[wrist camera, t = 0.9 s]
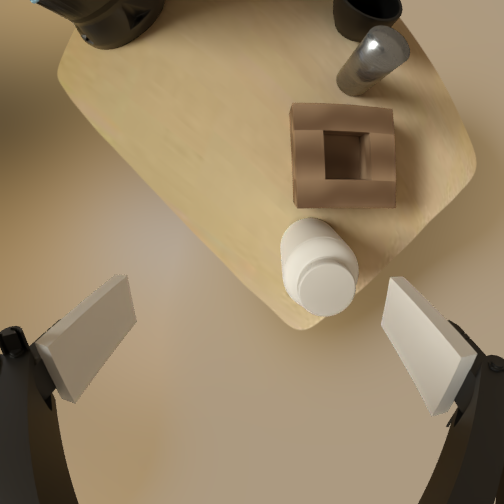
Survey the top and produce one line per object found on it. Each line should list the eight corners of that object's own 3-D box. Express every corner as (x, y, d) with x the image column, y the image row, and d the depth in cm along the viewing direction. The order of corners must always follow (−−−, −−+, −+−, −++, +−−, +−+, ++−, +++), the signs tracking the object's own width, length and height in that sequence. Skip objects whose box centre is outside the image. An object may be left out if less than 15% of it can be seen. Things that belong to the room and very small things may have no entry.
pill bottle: (267, 249, 39) (265, 297, 24) (305, 204, 36) (327, 227, 22) (310, 283, 40) (328, 343, 25) (348, 241, 37) (388, 283, 23)
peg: (334, 67, 30) (364, 22, 17) (364, 70, 30) (404, 30, 17) (337, 95, 32) (371, 59, 18) (368, 97, 31) (413, 67, 18)
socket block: (289, 113, 33) (292, 103, 27) (375, 117, 32) (392, 109, 26) (293, 202, 36) (297, 208, 31) (378, 201, 35) (395, 208, 30)
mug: (348, -12, 25) (362, -45, 16) (388, 44, 28) (414, 18, 19) (303, -4, 27) (309, -40, 18) (343, 54, 30) (362, 25, 21)
